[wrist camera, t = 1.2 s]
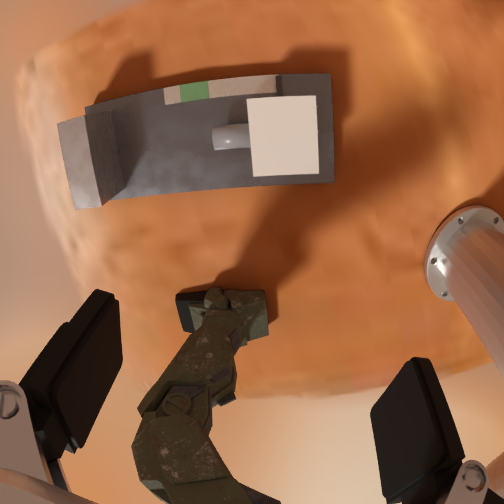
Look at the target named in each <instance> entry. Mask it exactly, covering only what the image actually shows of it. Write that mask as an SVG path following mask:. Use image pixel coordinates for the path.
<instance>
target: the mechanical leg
mask: <svg viewBox="0 0 504 504" xmlns="http://www.w3.org/2000/svg"><path fill="white" fill-rule="evenodd" d="M175 302H176V306H177V310H178V313H179V317H180V321H181V324H182V328H183V331H185V332H190V333H192V334H191V335H190V336H189V337H188V338H187V340H186V341H185V343H184V344H183V346H182V347H181V349H180V350H179V351H178V353H177V354H176V356H175V357H174V358H173V360H172V361H171V363H170V364H169V365H168V367H167V368H166V370H165V371H164V372H163V374H162V375H161V377H160V378H159V380H158V381H157V382H156V383H155V384H154V385H153V387H152V388H151V389H150V390H149V391H148V392H147V394H146V395H145V397H144V398H143V400H142V401H141V403H140V405H139V406H138V408H137V409H138V411H139V413H140V415H141V417H142V421H141V423H140V426H139V428H138V431H137V433H136V436H135V439H134V441H133V443H132V451H133V456H134V460H135V464H136V468H137V472H138V476H139V479H140V481H141V482H142V483H143V484H144V485H145V486H146V487H147V488H148V489H149V490H150V491H151V492H152V493H153V494H154V495H155V496H156V497H157V498H159V499H160V500H162V501H163V502H165V503H166V504H281V502H280V501H279V500H276V499H274V498H271V497H269V496H267V495H265V494H262V493H260V492H258V491H256V490H254V489H252V488H249V487H247V486H245V485H243V484H241V483H239V482H238V481H237V480H236V479H234V478H233V476H232V475H231V473H230V471H229V470H228V468H227V467H226V465H225V464H224V462H223V461H222V459H221V457H220V455H219V453H218V452H217V450H216V448H215V447H214V445H213V443H212V441H211V440H210V438H209V436H208V435H209V433H210V430H211V427H212V408H213V407H214V406H216V405H217V404H218V405H220V406H223V405H225V404H227V403H229V402H231V401H233V400H236V397H235V395H234V392H235V386H236V379H237V372H236V367H235V361H234V355H235V354H236V352H237V350H238V349H239V347H241V346H245V345H247V341H250V340H254V339H257V338H261V337H264V336H267V335H269V332H268V318H267V305H266V297H265V293H264V291H262V290H258V291H236V290H226V291H224V292H222V290H221V289H220V287H210V289H209V290H207V291H199V292H190V293H182V294H177V295H176V300H175Z"/></svg>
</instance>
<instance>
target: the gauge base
mask: <svg viewBox="0 0 504 504" xmlns="http://www.w3.org/2000/svg"><path fill="white" fill-rule="evenodd" d="M281 75H282V87H283V96H316V110H317V130H318V157H319V174H294V175H273V176H256V177H253V167H252V155H251V147H248V148H235V149H224V150H215V149H214V146H213V141H212V128H213V126H221V125H232V124H243V123H249V121H248V110H247V99H251V98H264V97H277V92H276V79H275V76H281ZM85 113H86V115H83V116H80V117H76V118H73V119H70V120H67V121H63V122H60V123H57V127H58V133H59V139H60V144H61V150H62V155H63V160H64V165H65V170H66V174H67V179H68V183H69V187H70V191H71V196H72V200H73V204H74V207H75V210H78V209H85V208H92V207H100V206H103V205H104V204H105V203H107V202H108V201H109V200H116V199H124V198H132V197H141V196H149V195H158V194H168V193H178V192H188V191H199V190H211V189H223V188H237V187H252V186H268V185H288V184H312V183H334V129H333V106H332V88H331V74H327V73H310V74H276V75H260V76H247V77H236V78H227V79H218V80H210V81H203V82H196V83H189V84H183V85H177V86H172V87H166V88H161V89H156V90H151V91H147V92H142V93H137V94H133V95H129V96H125V97H120V98H116V99H113V100H109V101H105V102H101V103H98V104H94V105H91V106H87V107H85Z"/></svg>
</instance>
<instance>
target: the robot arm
mask: <svg viewBox="0 0 504 504" xmlns="http://www.w3.org/2000/svg"><path fill="white" fill-rule="evenodd" d="M424 270H425V277H426V280H427V282H428V285H429V286H430V288H431V289H432V291H433V292H434V293H435V294H436V295H437V296H438V297H440V298H441V299H443V300H447V301H453V302H456V303H457V304H458V306H459V307H460V309H461V310H462V312H463V313H464V315H465V316H466V318H467V319H468V321H469V322H470V324H471V325H472V327H473V328H474V330H475V332H476V333H477V335H478V336H479V338H480V340H481V341H482V343H483V345H484V346H485V348H486V349H487V351H488V353H489V355H490V356H491V358H492V360H493V361H494V363H495V365H496V367H497V368H498V370H499V372H500V374H501V376H502V377H503V379H504V220H503V219H502V218H501V216H500V215H499V214H498V213H496V212H495V211H494V210H492V209H490V208H489V207H486V206H483V205H472V206H467V207H464V208H462V209H460V210H458V211H456V212H455V213H453V214H452V215H450V216H449V217H448V218H447V219H446V220H445V221H444V222H443V223H442V224H441V225H440V227H439V228H438V229H437V231H436V232H435V234H434V236H433V237H432V239H431V241H430V243H429V246H428V249H427V252H426V256H425V264H424ZM122 361H123V355H122V343H121V329H120V311H119V301H118V300H116V299H115V297H114V294H112V293H109V292H106V291H102V290H99V289H95V290H94V291H93V292H92V294H91V295H90V296H89V297H88V299H87V300H86V301H85V302H84V304H83V305H82V306H81V307H80V309H79V310H78V311H77V313H76V314H75V315H74V316H73V318H72V319H71V320H70V322H65V323H63V324H62V325H61V326H60V327H59V329H58V330H57V331H56V333H55V334H54V335H53V337H52V338H51V339H50V341H49V342H48V343H47V345H46V346H45V347H44V349H43V350H42V352H41V353H40V354H39V356H38V357H37V359H36V360H35V361H34V363H33V364H32V366H31V367H30V369H29V370H28V371H27V373H26V374H25V376H24V377H23V379H22V380H21V382H20V383H19V384H18V385H17V384H16V383H14V382H11V381H0V504H97V503H95V502H93V501H89V500H88V499H85V498H83V497H80V496H78V495H76V494H73V493H72V491H71V489H70V486H69V484H68V481H67V478H66V476H65V473H64V470H63V467H62V465H61V462H60V459H59V458H61V456H62V454H63V452H64V450H67V451H69V452H71V453H74V454H75V452H76V450H77V448H82V447H83V446H84V444H85V442H86V440H87V438H88V435H89V433H90V431H91V429H92V427H93V425H94V422H95V420H96V418H97V416H98V414H99V412H100V409H101V407H102V405H103V403H104V401H105V399H106V397H107V395H108V393H109V391H110V389H111V387H112V384H113V382H114V380H115V378H116V376H117V374H118V372H119V370H120V368H121V366H122ZM370 417H371V423H372V428H373V434H374V440H375V446H376V452H377V459H378V465H379V472H380V479H381V487H382V493H383V496H384V497H385V498H386V501H387V504H395V503H400V502H402V504H504V452H503V453H502V454H501V455H499V456H498V457H497V458H496V459H494V460H493V461H492V462H491V463H490V464H489V465H488V466H487V467H486V468H485V467H484V466H483V465H482V464H481V463H479V462H478V461H475V460H469V461H466V462H465V463H462V459H464V458H465V454H464V450H463V447H462V444H461V441H460V438H459V435H458V432H457V429H456V426H455V423H454V420H453V417H452V415H451V412H450V409H449V406H448V403H447V401H446V398H445V395H444V393H443V390H442V388H441V385H440V383H439V380H438V378H437V375H436V373H435V370H434V368H433V365H432V363H431V361H430V360H429V359H428V358H419V357H413V358H411V359H410V361H407V362H406V363H405V364H404V366H403V367H402V369H401V370H400V371H399V373H398V374H397V376H396V377H395V378H394V380H393V381H392V382H391V384H390V385H389V386H388V388H387V389H386V390H385V392H384V393H383V394H382V395H381V397H380V398H379V399H378V401H377V402H376V403H375V404H374V406H373V407H372V409H371V412H370Z"/></svg>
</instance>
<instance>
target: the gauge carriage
mask: <svg viewBox="0 0 504 504" xmlns="http://www.w3.org/2000/svg"><path fill="white" fill-rule="evenodd" d="M275 79H276V92H277V97H264V98H251V99H247V110H248V121H249V123H243V124H232V125H221V126H213V128H212V141H213V146H214V149H215V150H224V149H235V148H248V147H251V155H252V167H253V177H256V176H273V175H294V174H319V157H318V130H317V110H316V96H283V87H282V75H281V76H275Z"/></svg>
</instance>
